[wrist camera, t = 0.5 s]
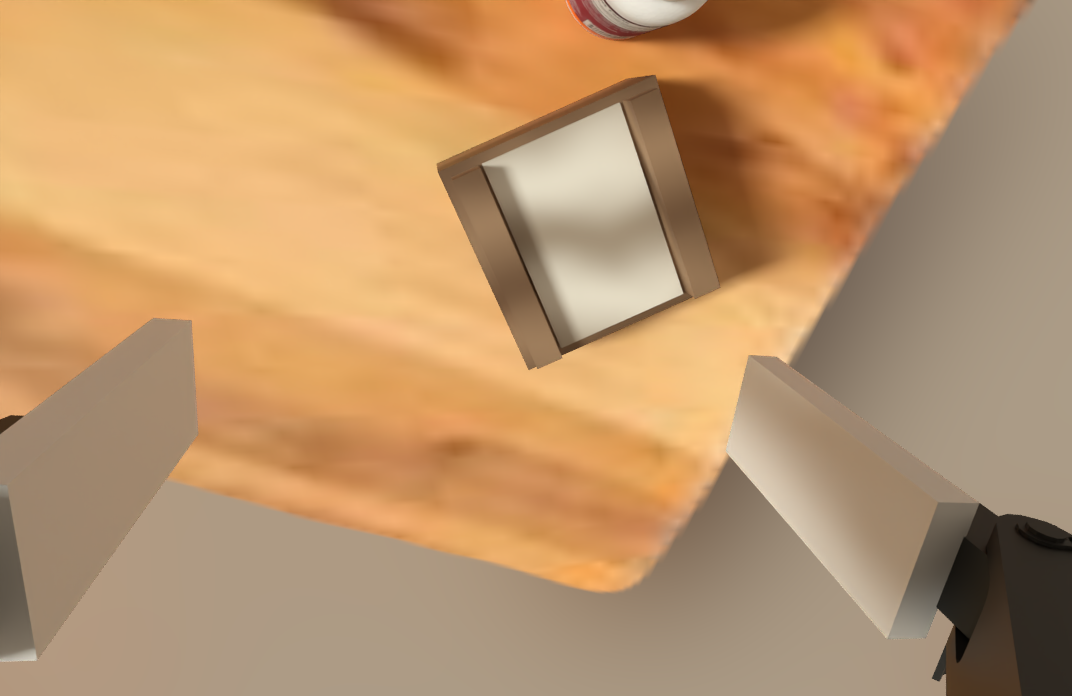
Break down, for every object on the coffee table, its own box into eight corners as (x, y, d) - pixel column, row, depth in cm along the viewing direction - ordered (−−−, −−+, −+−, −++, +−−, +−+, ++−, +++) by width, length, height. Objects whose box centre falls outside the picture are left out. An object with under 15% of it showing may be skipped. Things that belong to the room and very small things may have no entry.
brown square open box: (436, 163, 37) (438, 175, 31) (627, 78, 37) (665, 73, 31) (517, 340, 42) (532, 380, 36) (687, 265, 42) (730, 291, 36)
